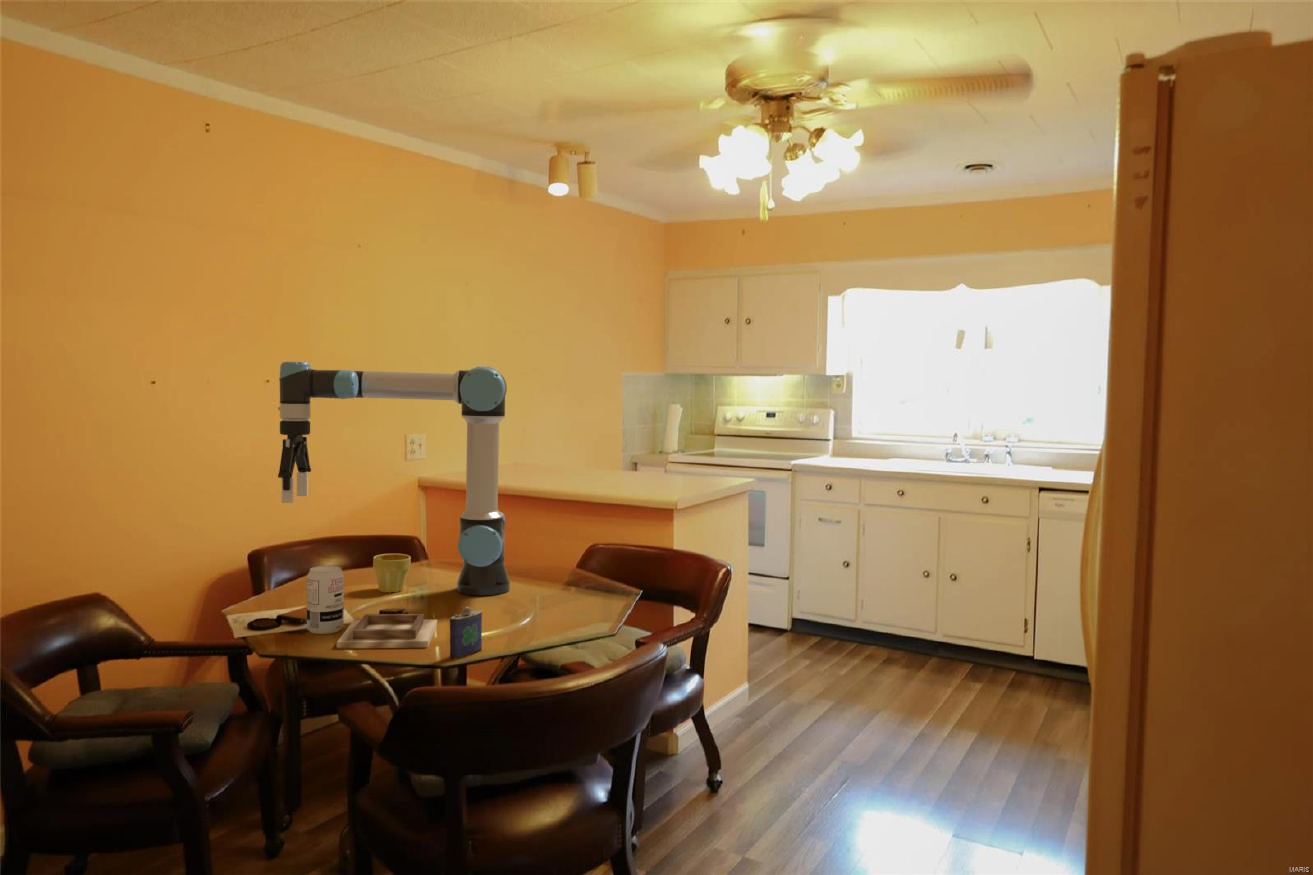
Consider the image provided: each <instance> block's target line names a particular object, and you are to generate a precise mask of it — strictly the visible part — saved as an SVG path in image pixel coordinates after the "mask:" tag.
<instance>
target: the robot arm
mask: <svg viewBox="0 0 1313 875" xmlns="http://www.w3.org/2000/svg"><path fill="white" fill-rule="evenodd" d="M278 380H279V407H277V410H278V411H279V418H280V419H281V420H280V421H279V434H280V435H282V436H287V438H286V439H285V438H284V439H282V447H281V448H282V449H281V457H280V462H279V463H280V464H279V470H278V473H277V478H279V479H281V503H282V504H285V503H286V504H293V503H294V477H293V474H294V470H295V466H296V469H297V472H296V496H297V497H308V496H309V495H308V494H309V493H308V490H309V488H308V487H309V486H308V485H309V484H308V483H309V482H308V481H309V478H308V477H309V473H311V472H312V468H311V465H310V457H309V451H308V438H307V436H308V435H310V434H311V422H310V420H309V419H311V398H312V399H319V398H320V399H341V400H346V399H356V398H357V399H359V398H360V399H364V398H367V399H396V400H397V399H400V400H402V399H403V400H432V401H433V400H434V401H441V400H442V401H455V402H456V403H457V404H458V405H461V417H462V419H464V420H465V422H466V470H465V471H466V472H465V473H466V474H465V475H466V482H465V483H466V484H465V487H466V488H465V489H466V490H465V510H464V511H463V512H462V513H461V514H460V516H459V537H458V542H457V549H458V553H459V555H460V556H461V557H460V558H462V559H463V565H462V567H461V571H460V574H459V576H458V579H457V582H456V590H457V592H458V593H459V594H462V595H468V596H481V597H482V596H495V595H496V596H497V595H501V594H505V593H507V592H509V591H510V590H511V588H510V587H511V581H510V578H509V574H508V572H507V568H506V565H505V546H506V544H505V542H506V541H505V540H506V539H505V537H506V536H505V533H506V530H505V529H506V523H507V522H506V515H505V513H503V512H502V511H500V510H499V502H498V500H499V499H498V498H499V454H500V452H499V451H500V450H499V448H500V446H499V445H500V444H499V443H500V439H499V438H500V423H501V421H502V420H504V418H505V417H506V416H505V414H506V394H507V387H508V386H507V382H506V379H505V377H504V376H503V375H502V373H500V372H499V371H498V370H496V369H494V368H493V367H490V366H476V367H473V368H471V369H469V370H465V369H464V370H461V369H460V370H457V371H456V372H455V373H447V372H446V373H443V372H442V373H440V372H438V373H437V372H411V371H410V372H407V371H406V372H405V371H370V370H369V371H368V370H367V371H366V370H364V371H363V370H348V369H347V370H346V369H312V367H311V363H310V362H306V361H283V362H281V364H280V366H279V379H278Z"/></svg>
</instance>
